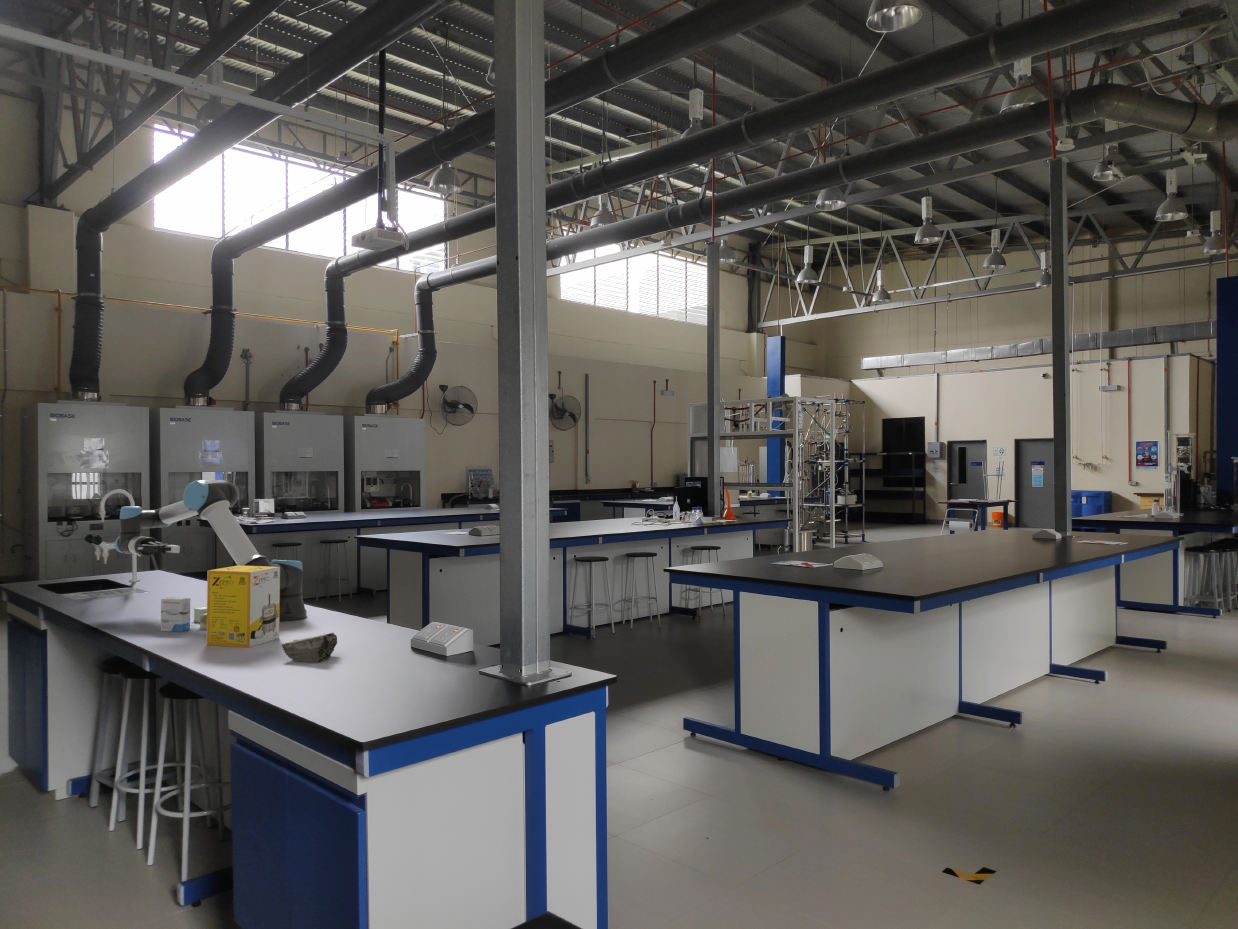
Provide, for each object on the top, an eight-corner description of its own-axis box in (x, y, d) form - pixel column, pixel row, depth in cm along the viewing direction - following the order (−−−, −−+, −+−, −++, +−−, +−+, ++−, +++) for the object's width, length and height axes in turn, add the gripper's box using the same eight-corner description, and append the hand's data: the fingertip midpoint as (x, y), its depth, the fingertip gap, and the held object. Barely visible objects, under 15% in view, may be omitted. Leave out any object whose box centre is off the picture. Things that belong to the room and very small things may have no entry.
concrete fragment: (274, 655, 247) (296, 620, 259) (293, 678, 252) (313, 642, 264) (314, 647, 243) (334, 611, 255) (332, 670, 248) (350, 634, 260)
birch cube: (220, 626, 305) (220, 613, 305) (213, 628, 300) (213, 615, 300) (207, 626, 305) (207, 612, 305) (199, 628, 300) (200, 615, 300)
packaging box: (238, 635, 287) (239, 565, 288) (279, 638, 284) (280, 566, 284) (206, 645, 271) (207, 570, 272) (249, 647, 268) (250, 572, 268)
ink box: (190, 629, 298) (191, 597, 298) (182, 632, 293) (182, 599, 293) (168, 628, 299) (169, 596, 299) (160, 631, 294) (160, 598, 294)
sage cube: (213, 620, 316) (213, 607, 316) (201, 622, 312) (201, 609, 312) (206, 619, 319) (206, 606, 319) (194, 621, 315) (194, 608, 315)
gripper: (159, 554, 330) (193, 557, 317) (126, 556, 318) (160, 560, 306) (160, 535, 330) (194, 538, 318) (127, 537, 318) (161, 540, 306)
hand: (177, 549), depth 312 cm, fingers closed
